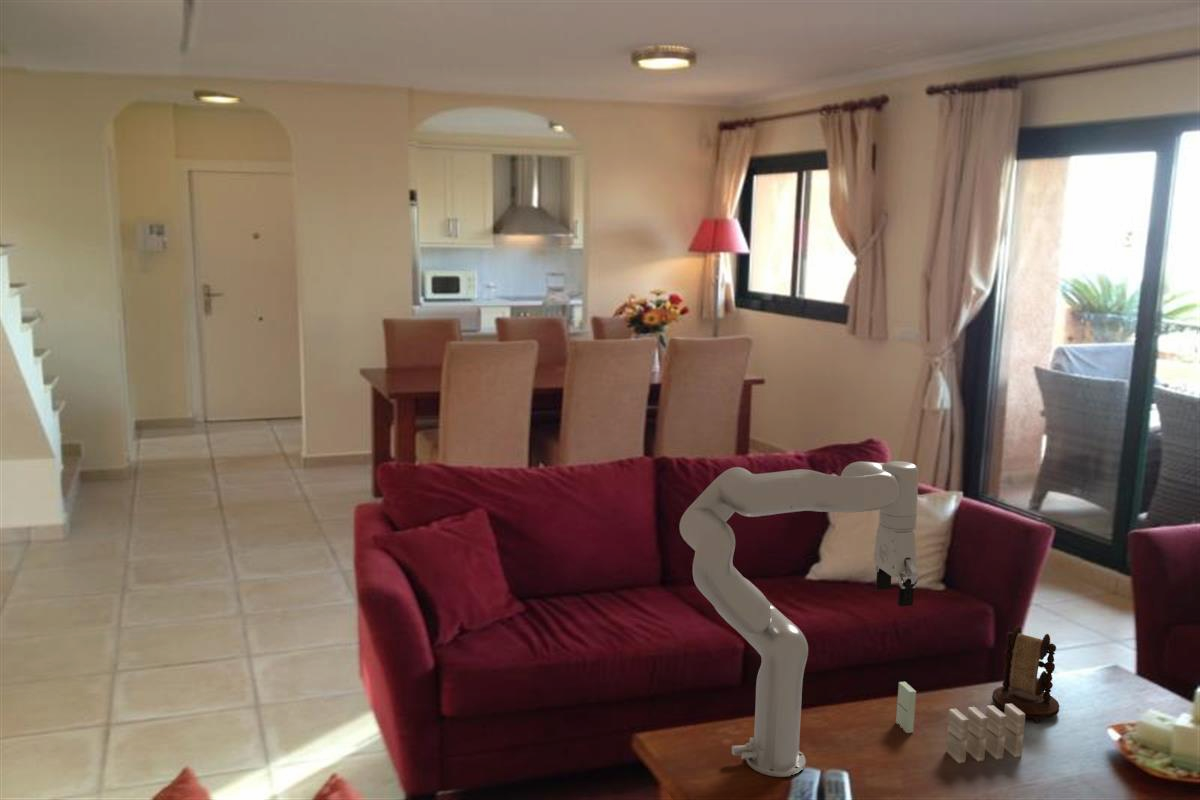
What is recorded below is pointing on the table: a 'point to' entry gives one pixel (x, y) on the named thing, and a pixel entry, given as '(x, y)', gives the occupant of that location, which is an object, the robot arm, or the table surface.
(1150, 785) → the table surface
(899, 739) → the table surface
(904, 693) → the domino
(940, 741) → the table surface
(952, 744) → the domino
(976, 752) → the domino
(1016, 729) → the domino
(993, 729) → the domino
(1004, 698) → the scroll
